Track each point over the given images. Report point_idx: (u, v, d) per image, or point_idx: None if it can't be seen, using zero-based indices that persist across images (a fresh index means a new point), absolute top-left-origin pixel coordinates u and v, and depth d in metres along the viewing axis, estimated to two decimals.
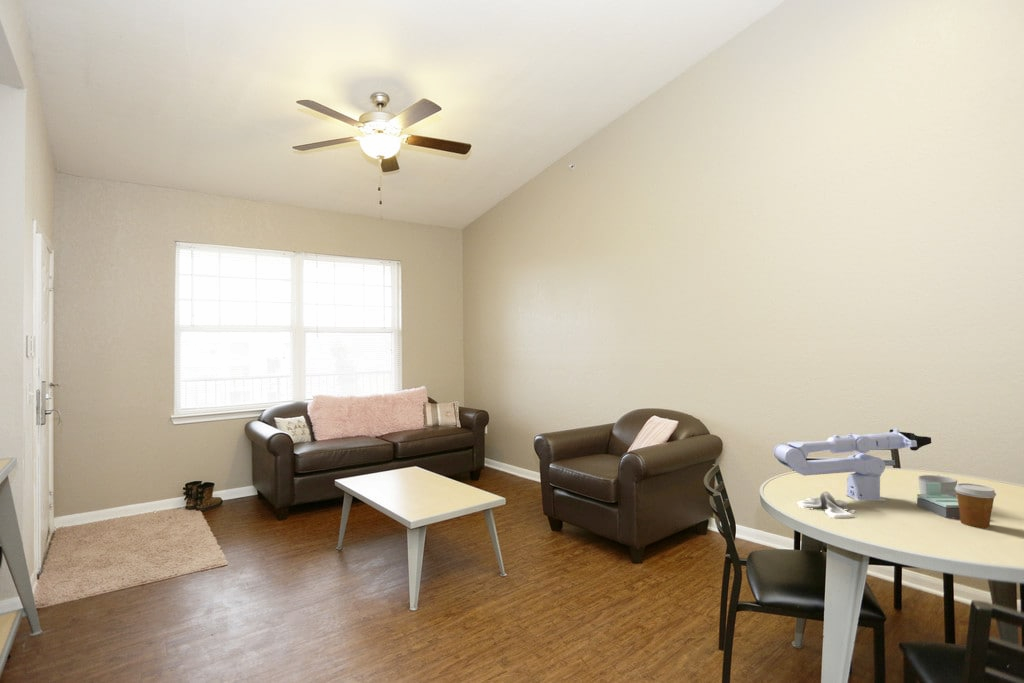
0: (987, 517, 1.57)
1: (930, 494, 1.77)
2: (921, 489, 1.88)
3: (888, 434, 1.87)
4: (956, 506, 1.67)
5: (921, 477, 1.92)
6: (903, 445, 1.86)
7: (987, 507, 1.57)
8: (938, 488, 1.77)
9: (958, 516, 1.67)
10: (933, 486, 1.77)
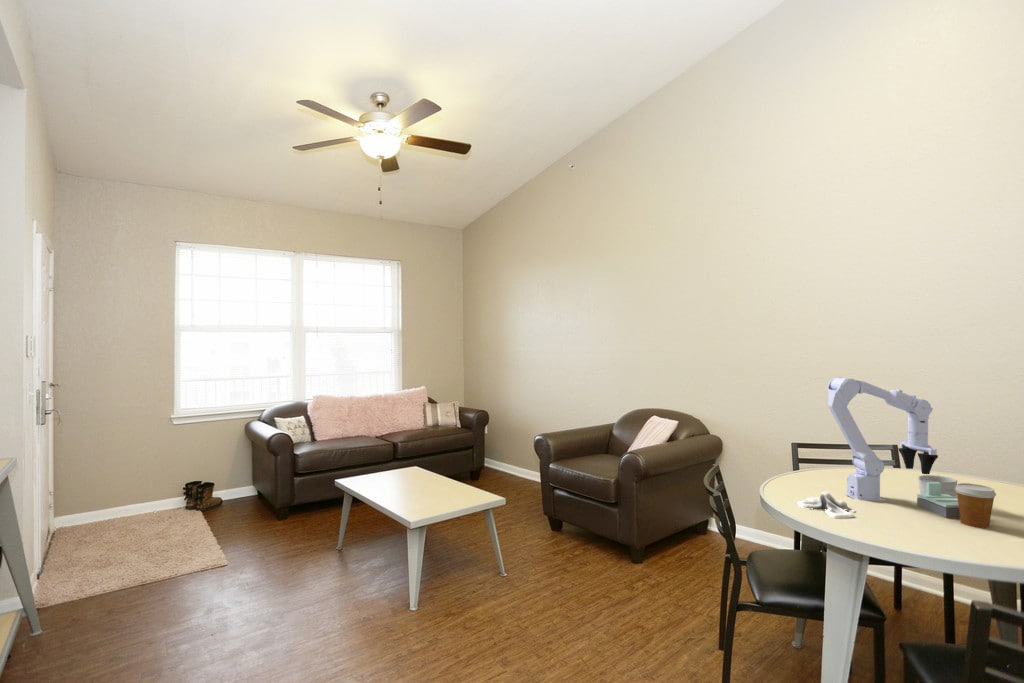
0: (987, 517, 1.57)
1: (930, 494, 1.77)
2: (921, 489, 1.88)
3: None
4: (956, 506, 1.67)
5: (921, 477, 1.92)
6: None
7: (987, 507, 1.57)
8: (938, 488, 1.77)
9: (958, 516, 1.67)
10: (933, 486, 1.77)
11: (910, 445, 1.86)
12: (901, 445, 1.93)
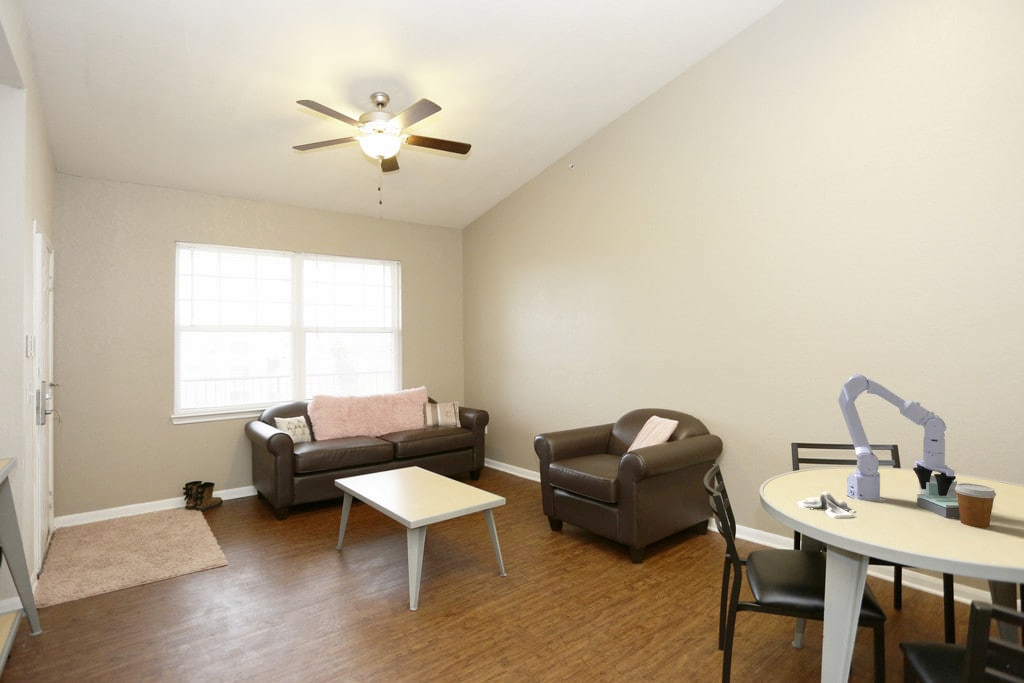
0: (987, 517, 1.57)
1: (930, 494, 1.77)
2: (921, 489, 1.88)
3: None
4: (956, 506, 1.67)
5: None
6: (936, 468, 1.75)
7: (987, 507, 1.57)
8: None
9: (958, 516, 1.67)
10: (933, 486, 1.77)
11: (926, 465, 1.77)
12: (916, 464, 1.84)
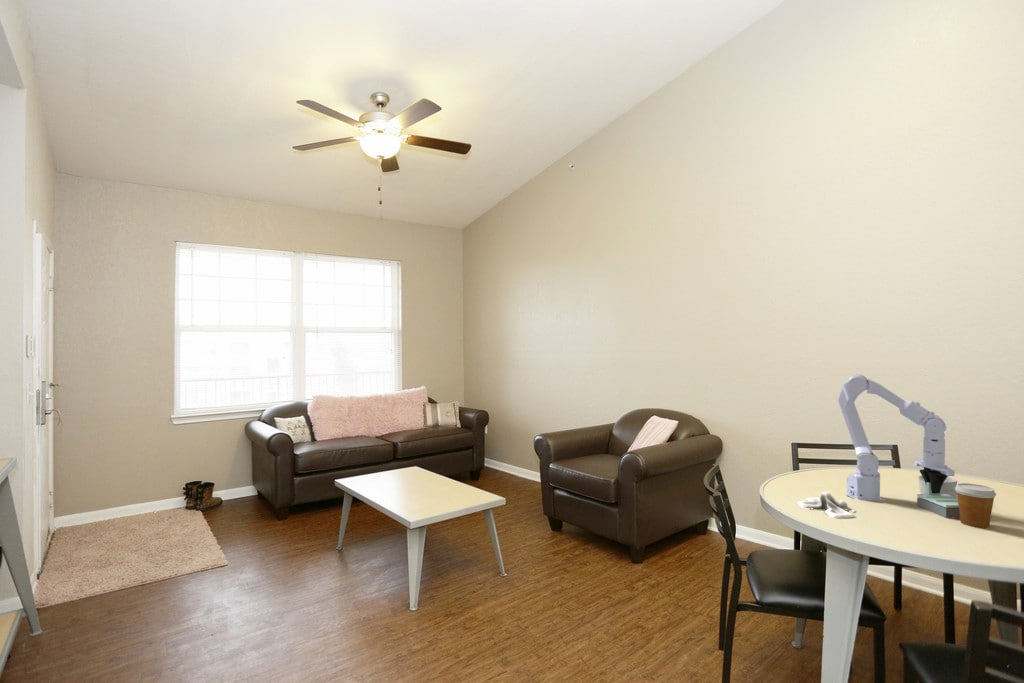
0: (987, 517, 1.57)
1: (930, 494, 1.77)
2: (921, 489, 1.88)
3: None
4: (956, 506, 1.67)
5: (921, 477, 1.92)
6: (936, 468, 1.75)
7: (987, 507, 1.57)
8: None
9: (958, 516, 1.67)
10: None
11: (926, 465, 1.77)
12: (916, 464, 1.84)
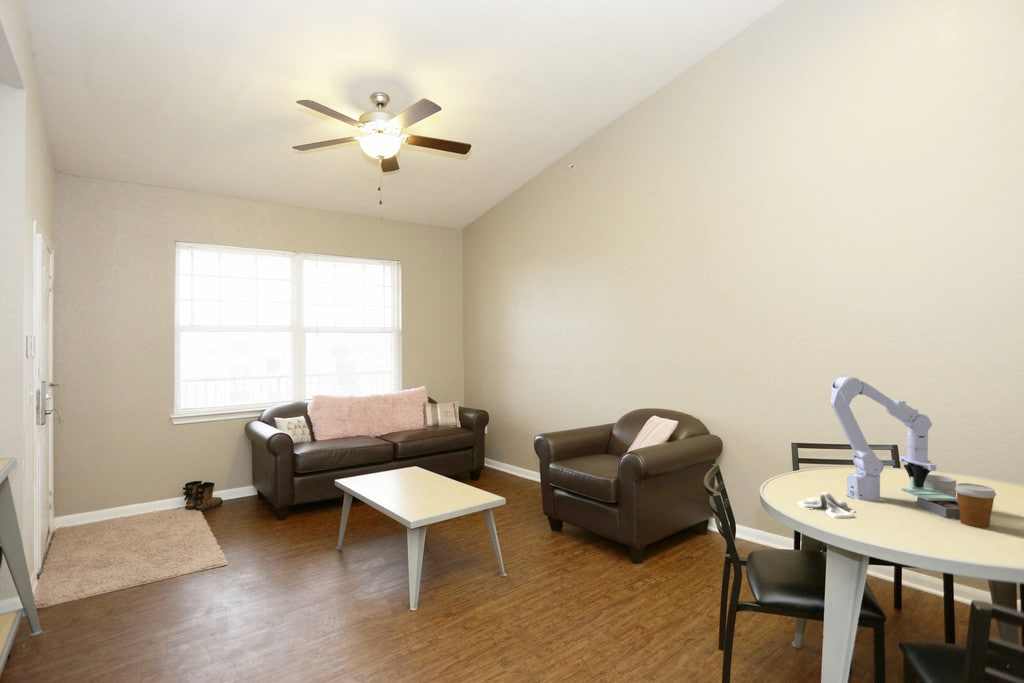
0: (987, 517, 1.57)
1: (914, 488, 1.85)
2: None
3: None
4: (938, 499, 1.74)
5: None
6: (919, 463, 1.82)
7: (987, 507, 1.57)
8: None
9: (958, 516, 1.67)
10: None
11: (910, 460, 1.85)
12: (901, 459, 1.92)
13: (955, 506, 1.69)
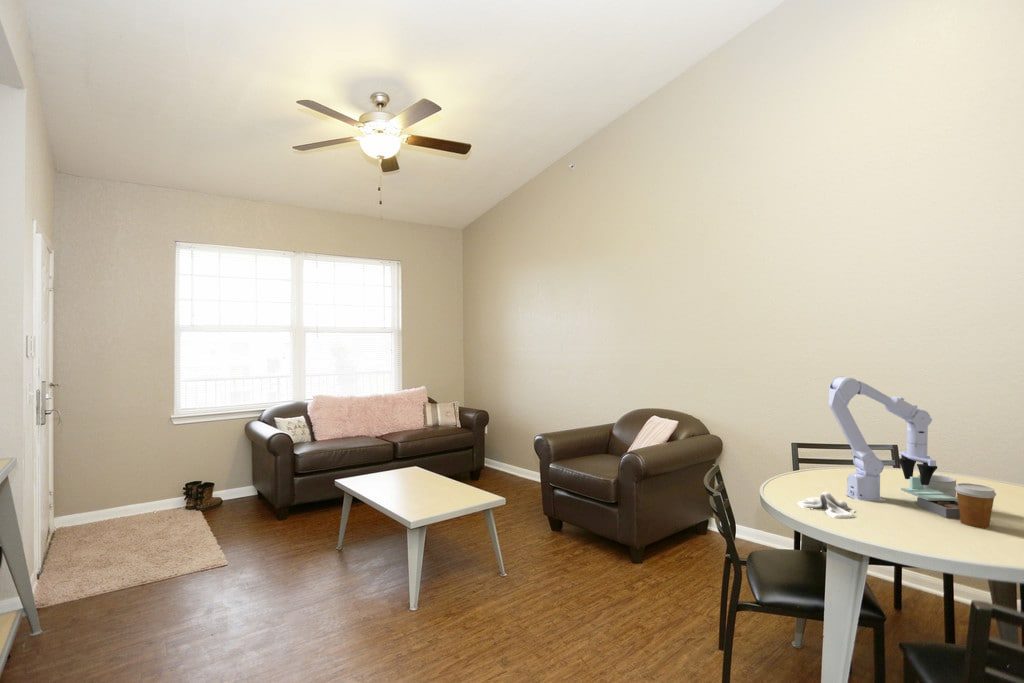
0: (987, 517, 1.57)
1: (913, 488, 1.85)
2: None
3: None
4: (937, 499, 1.74)
5: None
6: None
7: (987, 507, 1.57)
8: None
9: (958, 516, 1.67)
10: (916, 480, 1.85)
11: (909, 456, 1.85)
12: (900, 455, 1.92)
13: (955, 506, 1.69)
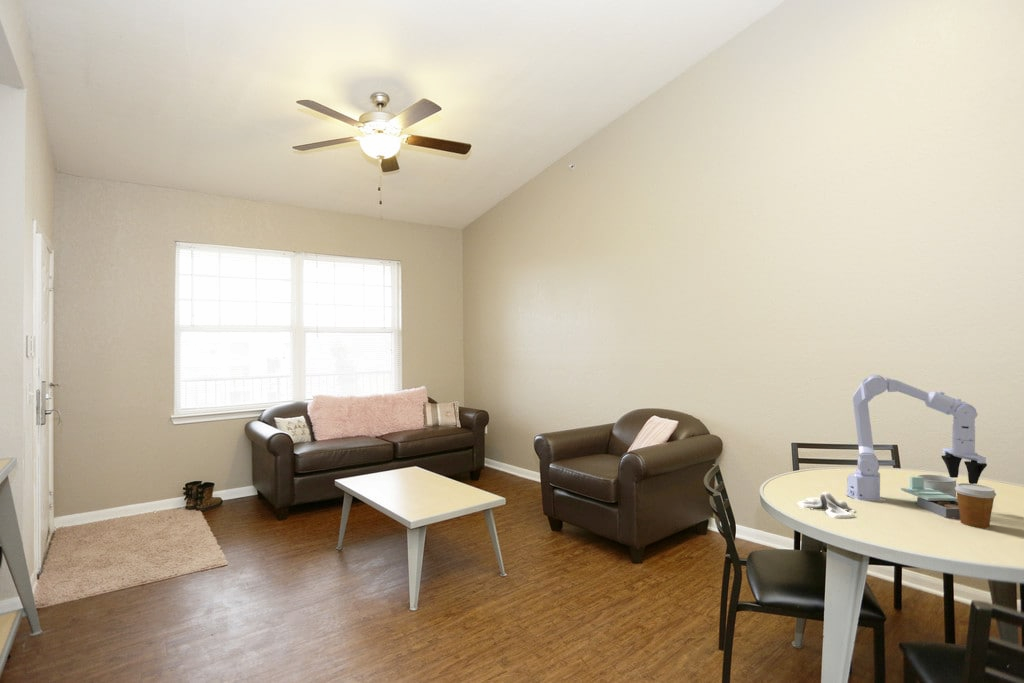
0: (987, 517, 1.57)
1: (913, 488, 1.85)
2: None
3: None
4: (937, 499, 1.74)
5: (921, 476, 1.93)
6: None
7: (987, 507, 1.57)
8: (921, 482, 1.85)
9: (958, 516, 1.67)
10: (916, 480, 1.85)
11: (956, 452, 1.74)
12: (944, 452, 1.81)
13: (955, 506, 1.69)
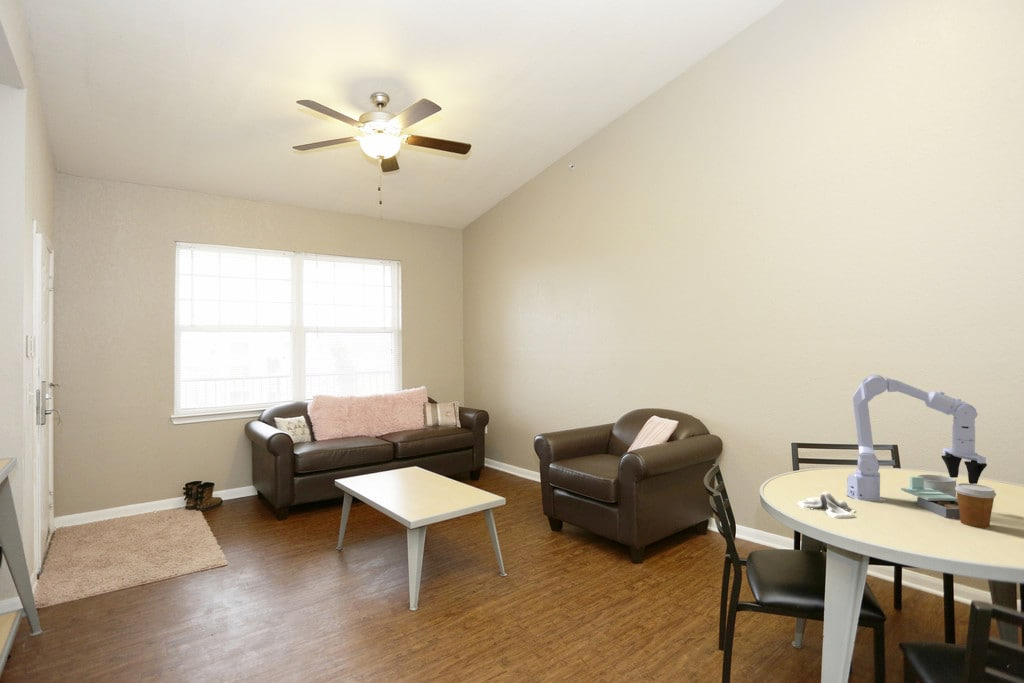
0: (987, 517, 1.57)
1: (913, 488, 1.85)
2: None
3: None
4: (937, 499, 1.74)
5: (921, 476, 1.93)
6: None
7: (987, 507, 1.57)
8: (921, 482, 1.85)
9: (958, 516, 1.67)
10: (916, 480, 1.85)
11: (956, 452, 1.74)
12: (944, 452, 1.81)
13: (955, 506, 1.69)
